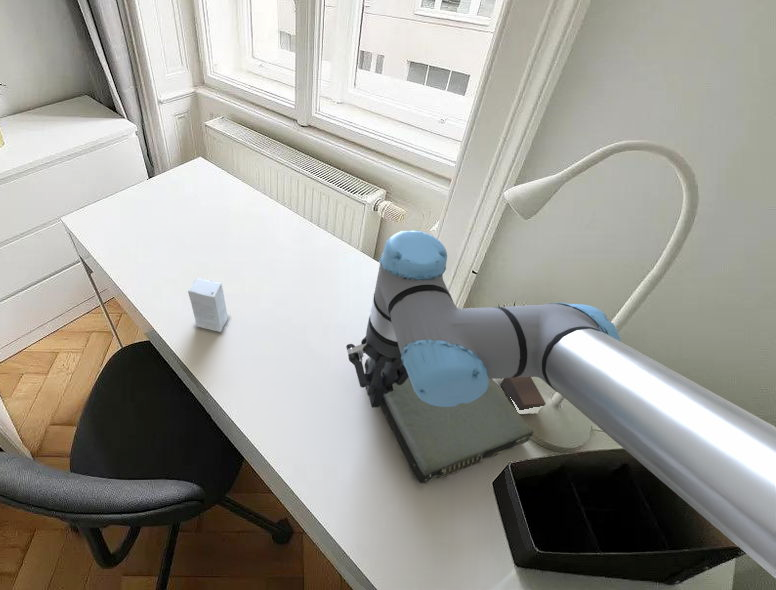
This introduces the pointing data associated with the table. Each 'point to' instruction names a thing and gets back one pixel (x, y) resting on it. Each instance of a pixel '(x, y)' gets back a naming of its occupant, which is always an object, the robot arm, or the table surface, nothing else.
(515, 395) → the brown and white block
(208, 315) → the cosmetic box
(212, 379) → the table surface
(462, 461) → the network switch
